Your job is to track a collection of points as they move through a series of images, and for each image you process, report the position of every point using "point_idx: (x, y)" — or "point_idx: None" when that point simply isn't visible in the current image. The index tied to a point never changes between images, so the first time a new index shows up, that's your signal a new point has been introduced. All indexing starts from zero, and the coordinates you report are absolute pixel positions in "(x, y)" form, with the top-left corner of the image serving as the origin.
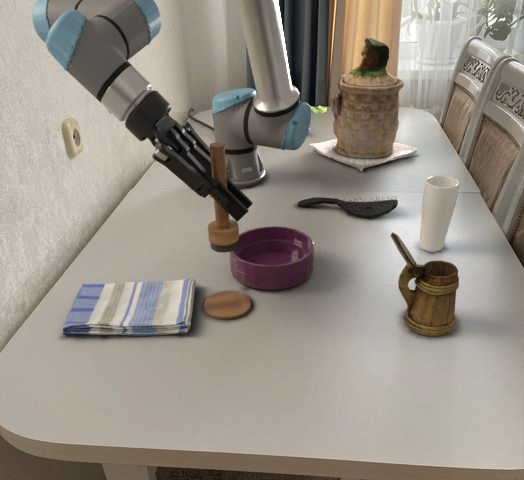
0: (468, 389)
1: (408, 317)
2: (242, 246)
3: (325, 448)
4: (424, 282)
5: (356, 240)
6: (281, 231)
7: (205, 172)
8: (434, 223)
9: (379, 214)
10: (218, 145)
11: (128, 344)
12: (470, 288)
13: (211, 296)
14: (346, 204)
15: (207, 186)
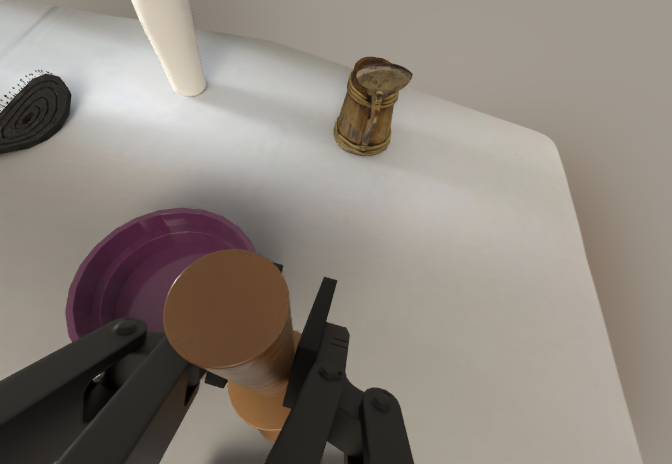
0: (468, 138)
1: (371, 147)
2: None
3: (582, 274)
4: (388, 96)
5: (130, 159)
6: (98, 259)
7: (308, 421)
8: (194, 51)
9: (67, 109)
10: (256, 291)
11: None
12: (297, 84)
13: (264, 431)
14: None
15: (399, 408)
